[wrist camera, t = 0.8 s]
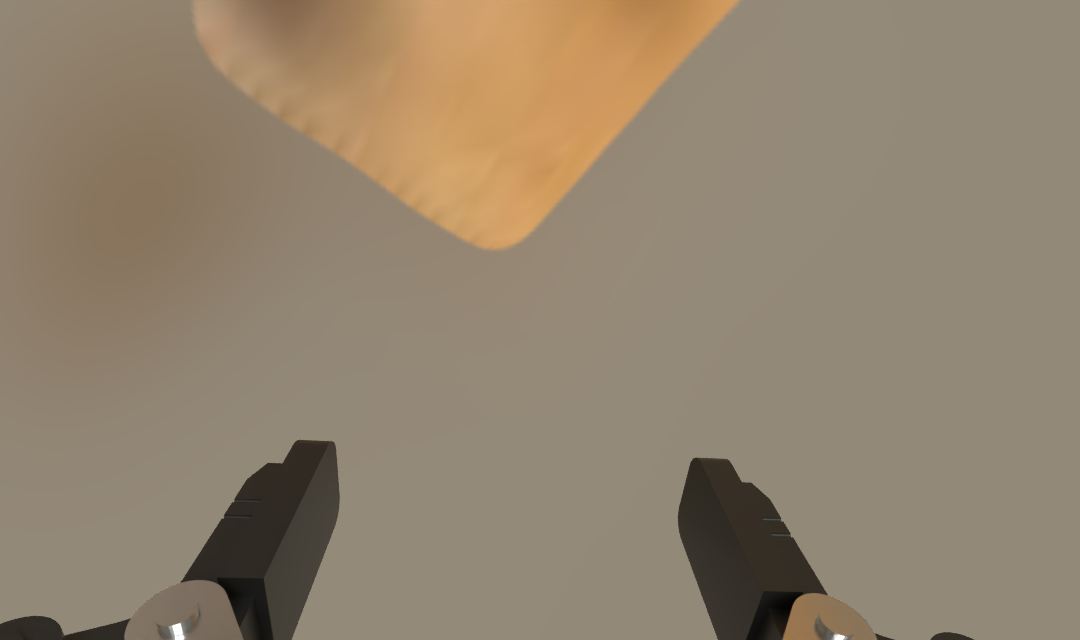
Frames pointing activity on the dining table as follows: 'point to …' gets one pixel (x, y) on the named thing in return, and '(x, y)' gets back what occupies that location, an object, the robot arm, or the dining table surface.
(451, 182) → the dining table surface
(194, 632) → the robot arm
